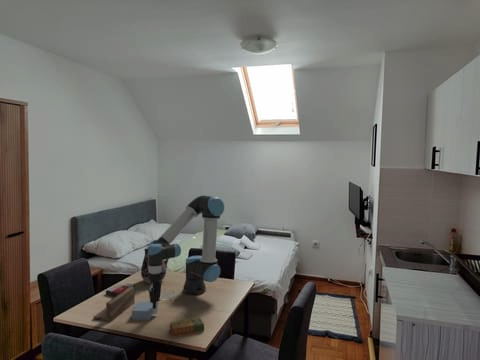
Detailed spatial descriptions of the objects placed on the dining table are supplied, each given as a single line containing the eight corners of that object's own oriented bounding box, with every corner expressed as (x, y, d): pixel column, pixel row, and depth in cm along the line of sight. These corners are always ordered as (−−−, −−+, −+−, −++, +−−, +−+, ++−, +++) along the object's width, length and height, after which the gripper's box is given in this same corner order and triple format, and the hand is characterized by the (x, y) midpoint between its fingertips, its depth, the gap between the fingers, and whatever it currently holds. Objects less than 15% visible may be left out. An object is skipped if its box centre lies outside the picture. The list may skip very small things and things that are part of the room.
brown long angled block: (134, 303, 201) (134, 287, 200) (111, 321, 177) (111, 303, 177) (118, 301, 203) (118, 285, 202) (93, 319, 180) (93, 301, 179)
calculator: (105, 289, 213) (123, 281, 226) (105, 295, 213) (123, 287, 227) (117, 292, 208) (135, 283, 221) (117, 299, 208) (135, 290, 222)
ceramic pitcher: (136, 281, 237) (136, 247, 236) (162, 274, 251) (162, 242, 250) (148, 288, 224) (148, 252, 223) (175, 280, 238) (175, 247, 237)
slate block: (156, 310, 192) (156, 301, 192) (149, 320, 180) (149, 311, 180) (139, 309, 192) (139, 301, 192) (131, 319, 180) (131, 310, 180)
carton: (169, 329, 170) (169, 321, 170) (199, 324, 176) (199, 316, 176) (173, 337, 163) (173, 329, 162) (204, 331, 169) (204, 323, 169)
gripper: (154, 267, 191) (154, 307, 192) (143, 275, 178) (143, 317, 179) (166, 268, 189) (166, 308, 190) (156, 276, 176) (156, 319, 178)
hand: (155, 313), depth 185 cm, fingers closed
